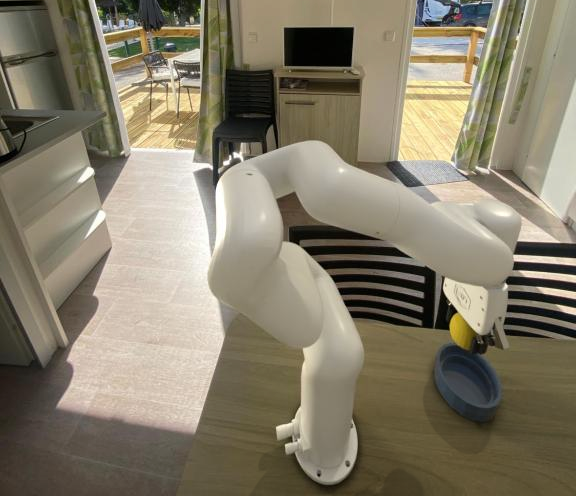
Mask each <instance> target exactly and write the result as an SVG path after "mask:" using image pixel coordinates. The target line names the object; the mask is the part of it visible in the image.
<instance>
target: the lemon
mask: <svg viewBox="0 0 576 496" xmlns="http://www.w3.org/2000/svg"><path fill="white" fill-rule="evenodd" d="M449 333H450V335H451V338H452V340H453V341H454V343H456V344H457V345H458V346H460V347H461V348H463V349H465V350H469V349H470V345H471V342H472V338H473V337H475V336H476V332H475V331H474V330H473V329H472V327H471V326H470V325H469V324H468V323H467V321H466V320H465V319H464V318H463V317H462V315H461V314H460V313H459V312H457V313H456V314H455V315H454V316H453V317H452V319H451V322H450V323H449Z"/></svg>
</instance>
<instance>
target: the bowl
mask: <svg viewBox="0 0 576 496" xmlns="http://www.w3.org/2000/svg"><path fill="white" fill-rule="evenodd" d="M433 378H434V382H435V385H436V388H437V389H438V391H439V393H440V394H441V397H442V398H443V400H444V401H445V402H446V403H447V404H448V405H449V406H450V407H451V408H452V409H453V410H454V411H455V412H457V413H458V414H459V415H461V416H462V417H464V418H467V419H469V420H471V421H474V422H481V423H485V422H488V421H490V420H492V419H493V418H494V417H495V416H496V415H497V412H498V410H499V406H500V404H501V401H502V396H503V387H502V382H501V379H500V377H499V375H498V374H497V371H496V370H495V368H494V367H493V366H492V365H491V363H490V362H489V361H488V359H486V358H485V357H484V356H483V354H482V355H480V354H479V353H478V354H475V355H472V354H471V353H470V351H469V350H465V349H463V348H461V347H460V346H458V345H457V344H456V343H455V342H447V343H445V344H443V345H442V346H441V347H439V348H438V351H437V354H436V358H435V362H434V366H433Z"/></svg>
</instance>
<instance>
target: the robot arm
mask: <svg viewBox="0 0 576 496" xmlns="http://www.w3.org/2000/svg"><path fill="white" fill-rule="evenodd" d="M293 193H295V195H296V196H297V198H298V201H299V202H300V204H301V206H302V207H303V209H304V211H305V212H306V213H307V215H309V216H310V217H311V218H313V219H314V220H316V221H318V222H321V223H322V224H325V225H328V226H333V227H336V228H339V229H343V230H347V231H350V232H353V233H357V234H361V235H364V236H368V237H371V238H375V239H379V240H382V241H385V242H387V243H389V244H390V245H392V246H393V247H395V248H396V249H397V250H399V251H400V252H402V253H404V254H405V255H407V256H409V257H410V258H411V259H413V260H415V261H417V262H419V263H420V264H422V265H424V266H425V267H427V268H428V269H430V270H431V271H434V272H435V273H436V274H439V275H440V277H441V280H442V284H443V286H442V290H443V293H444V295H445V297H446V298H447V299H446V304H447V305H448V306H447V307H448V308H447V312H446V316H445V321H446V322H447V323H448V324H450V322H451V319H452V317H453V316H454V315H455V314H456V313H457V312H459V313H460V314H461V315H462V317H463V318H464V319H465V320H466V321H467V323H468V324H469V325H470V326H471V327H472V329H473V330H474V331H475V332H476V336H475V337H473V338H472V342H471V345H470V349H469V351H470V353H471V354H472V355H475V354H478V353H479V354H480V355H482V356H483V355H484V354H486V353H487V352H488V347H495V348H497V349H498V350H502V351H505V350H508V349H510V344H509V341H508V338H507V336H506V333H505V330H504V323H505V319H506V315H507V309H508V303H509V302H508V300H509V285H508V284H507V283H506V281H507V279H508V277H510V275H511V274H512V272H513V270H514V266H515V265H514V264H515V259H514V255H515V251H516V247H517V244H518V240H519V238H520V237H519V236H520V232H521V229H522V224H523V223H522V217H521V215H520V214H519V212H518V211H517V210H516V209H515V208H513V207H512V206H510V205H509V204H507V203H505V202H503V201H500V200H497V199H492V198H478V199H476V200H473V201H455V200H441V201H434V202H431V203H429V202H428V201H427V200H426V199H424V198H423V197H421V196H420V195H419V194H417V193H416V192H414V191H413V190H411V189H410V188H408V187H406V186H404V185H403V184H400V183H397V182H395V181H392V180H390V179H387V178H384V177H381V176H379V175H376V174H374V173H371V172H369V171H367V170H364V169H360V168H358V167H356V166H353V165H351V164H349V163H347V162H346V161H344V159H342V157H340V155H339V154H338V153H337V152H336V151H335V150H334V149H333V148H332V147H331V146H330V145H329V144H328V143H326V142H324V141H321V140H317V139H316V140H315V139H314V140H311V139H310V140H304V141H298V142H295V143H292V144H289V145H286V146H285V145H284V146H282V147H279V148H277V149H274V150H271V151H267V152H265V153H263V154H260V155H256V156H254V157H251V158H248V159H245V160H243V161H241V162H238V163H236V164H235V165H232V166H231V167H229V168H228V169H227V170H225V171H224V173H222V176H220V178H219V180H218V182H217V184H216V188H215V212H216V213H215V231H216V232H215V241H214V247H213V252H212V254H211V258H210V261H209V264H208V269H207V274H206V280H207V285H208V289H209V291H210V293H211V294H212V296H213V297H214V298H216V300H217V301H219V302H220V303H222V304H223V305H225V306H227V307H230V309H231V308H232V309H234V310H236V311H237V312H239V313H241V314H242V315H244V316H245V317H246V318H247V319H248V320H250V322H252V323H254V324H255V325H257V326H258V327H259V328H261V329H262V330H263V331H265V332H266V333H268V334H269V335H270V336H272V337H273V338H274V339H276V340H277V341H279V342H280V343H282V344H283V345H285V346H287V347H289V348H293V349H299V350H301V349H302V352H303V358H304V360H303V362H302V367H301V373H300V374H301V375H300V387H301V388H300V406H299V408H298V409H297V411H296V413H295V416H294V418H293V419H291V422H289V423H286V424H280V425H277V426H275V431H276V432H275V433H276V439H277V440H276V441H277V442H279V441H283V440H286V439H288V438H290V437H292V442H291V441H290V442H288V443H285V444H284V449H285V455H286V456H289V455H292V454H295V457H296V460H297V463H299V466H300V468H301V469H302V470H303V472H304V473H305V475H307V476H308V477H309V478H310V479H311V480H313V481H314V482H316V483H318V484H319V485H323V486H324V485H325V486H333V485H336V484H339V483H341V482H342V481H344V480H345V479H346V478H347V477H348V476H349V475H350V474H351V472H352V470H353V468H354V467H355V464H356V460H357V454H358V446H359V445H358V444H359V441H358V433H357V429H356V428H357V427H356V425H355V423H354V420H353V411H354V402H355V393H356V385H357V380H358V378H359V376H360V373H361V372H362V369H363V366H364V363H365V349H364V345H363V342H362V339H361V335H360V333H359V331H358V329H357V326H356V324H355V321H354V320H353V317H352V316H351V313H350V312H349V310H348V307H347V306H346V305H345V302H344V300H343V297H342V296H341V293H340V292H339V289H338V287H337V285H336V283H335V281H334V280H333V278H332V276H330V274H329V273H328V272H327V270H326V269H324V268H323V267H322V266H321V265H320V264H319V263H318V262H317V261H316V260H315V259H314V258H313V257H312V256H311V255H310V254H309V253H308V252H307V251H306V250H305V249H304V248H303V247H301V246H300V245H298V244H296V243H294V242H290V241H284V236H285V235H284V234H285V233H284V232H285V231H284V221H283V217H282V216H283V215H282V214H281V210H280V207H279V205H278V201H277V199H279V198H280V199H281V198H282V197H285V196H287V195H289V194H293ZM318 475H319V476H318Z"/></svg>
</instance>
